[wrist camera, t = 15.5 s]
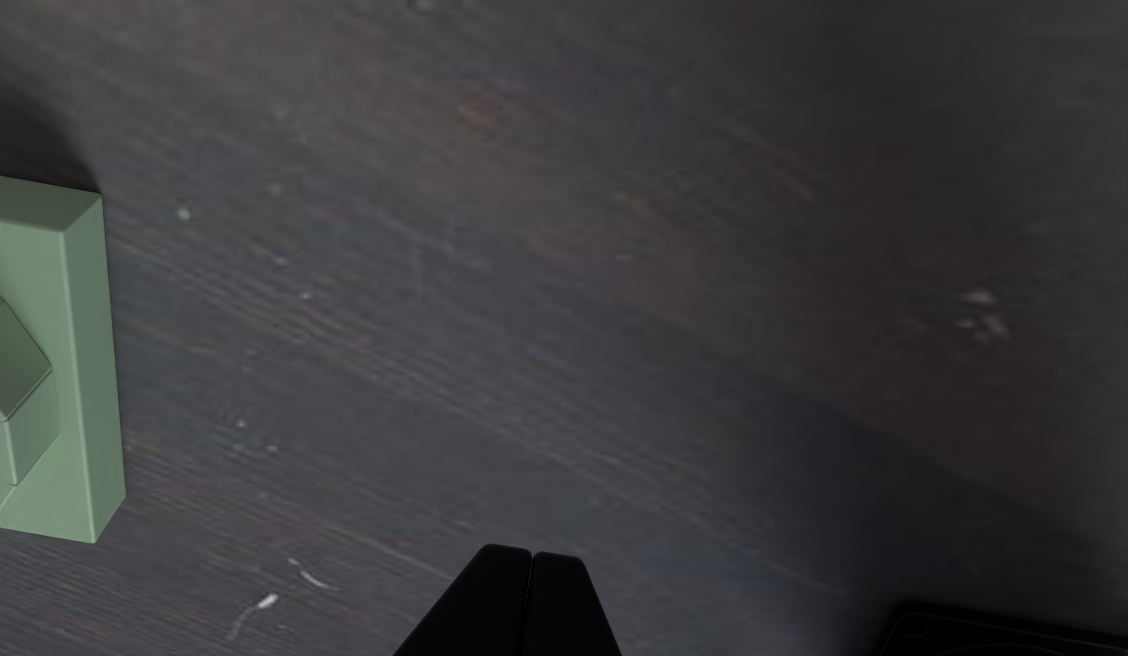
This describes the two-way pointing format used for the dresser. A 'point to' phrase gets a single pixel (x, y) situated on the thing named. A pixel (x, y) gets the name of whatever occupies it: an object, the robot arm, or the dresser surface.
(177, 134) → the dresser surface
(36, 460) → the button block
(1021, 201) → the dresser surface
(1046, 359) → the dresser surface
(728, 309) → the dresser surface
